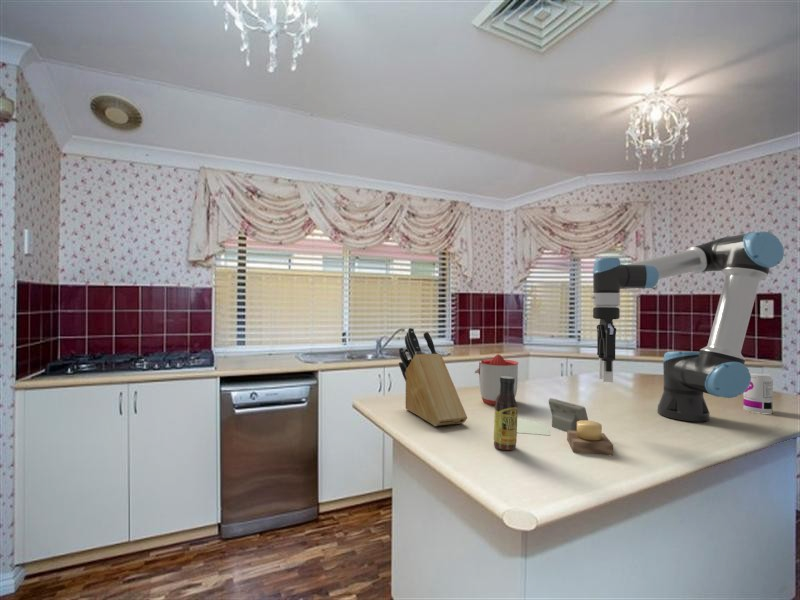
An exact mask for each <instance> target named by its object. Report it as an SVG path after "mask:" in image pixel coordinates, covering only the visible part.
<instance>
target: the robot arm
mask: <svg viewBox="0 0 800 600" xmlns="http://www.w3.org/2000/svg"><path fill="white" fill-rule="evenodd" d="M784 254H785V249H784V246H783V242H781V241H780V238H778V237H777V236H776V235H775V234H773V233H771V232H769V231H764V230H763V231H751V232H748V233H743V234H736V235H731V236H725V237H720V238H717V239H714V240H712V241H707V242H705V243H701V244H699V245H695V246H690V247H689V248H686V251H682V252H677V253H672V254H668V255H664V256H663V255H662V256H659V257H655V258H651V259H647V260H641V261H636V262H632V263H627V264H621V260H620V258H618V257H613V256H612V257H599V258H596V259H595V260H594V261H593V266H592V267H593V268H592V269H593V270H592V276H593V277H592V280H593V281H592V282H593V283H592V284H593V285H592V286H593V291H592V292H593V294H592V296H591V297H590V298H591V299H592V304H593V306H594V307H593V308H592V312H593V313H592V318H593V319H595V320H599V324H598V325H596V332H597V334H596V336H597V340H596V341H597V346H596V347H597V348H596V349H597V350H596V351H597V352H596V353H597V356H598V379H600V380H602V383H604V382H606V383H614V361H615V360H616V333H617V328H616V327H615V325H614V322H613V320H619V319H620V316H621V315H620V312H621V311H620V307H619V306H620V305H621V290H627V289H628V290H629V289H630V290H631V289H643V290H645V289H652V288H654V287H655V286H657V284H658V283H659V280H661V279H666V278H669V277H675V276H679V275H683V274H688V273H693V274H700V273H707V272H721V273H722V274H723V275H724V276H725V278H724V281H723V285H722V289H721V292H720V297H719V299H718V300H719V301H718V303H717V304H718V305H717V308H716V311H715V316H714V320H713V324H712V327H711V330H710V335H709V339H708V343H707V345H706V346H704V347H703V348H700V349H699V351H666V352H665V353H664V355H663V361H662V364H663V365H662V367H663V368H662V369H663V392H662V395H661V398H660V400H659V402H658V405H657V413H658V415H661V416H663V417H666V418H670V419H674V420H679V421H687V422H698V423H699V422H708V421H710V416H711V415H710V410H709V409H708V406H707V405H708V404H707V403H706V400H705V397H704V393H705V394H707V395H708V394H709V395H711V396H714V397H717V398H725V399H733V398H737V397H738V396H739V395H742V394H743V393H744V392H745V391H746V390H747V388H748V386H749V384H750V381H751V374H750V373H751V372H750V369H749V368H748V367H747V366H745V362H746V358H745V357H744V355H742V349H743V345H744V341H745V339H746V338H745V337H746V334H747V331H748V327H749V323H750V319H751V315H752V311H753V309H754V303H755V300H756V296H757V294H758V289H759V285H760V282H761V281H762V280H764V279H766V278H767V277H769V276H768V275H769V272H770V269H771V268H775V267H776V266H778V265H779V264H781V262H782V261H783V259H784Z"/></svg>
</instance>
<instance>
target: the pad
mask: <svg viewBox="0 0 800 600" xmlns="http://www.w3.org/2000/svg"><path fill="white" fill-rule="evenodd" d="M517 434H524V435H538V436H548V437H549V436H550V437H551V434H550V431H549V429H548V426H547V423H544V422H540V421H534V420H529V419H524V418H520V417H517Z"/></svg>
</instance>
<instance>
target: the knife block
mask: <svg viewBox="0 0 800 600" xmlns="http://www.w3.org/2000/svg"><path fill="white" fill-rule="evenodd" d="M422 336H423V338H424V340H425V342H426V344H427V347H428V348H429V350H430V353H425V352H422V349H421V346H420V343H419V340H418V337H417V335H416V333H415V328H413V327H409V328H408V329H407V332H406V334H405V336H404V344H405V347H406V349H404V348H403V347H399V349H398V355H399V358H400V360H401V361H400V362H398V365H399V368H400V372H401V373H402V375H403V376H402V377H403V379H404V381H405V409H406V410H407V411H409V412H411V413H412V414H414V415H417V416H418V417H420V418H421V419H423V420H424V421H426V422H428V423H430V424H431V425H432V426H433V427H439V426H446V425H447V426H449V425H458V424H459V425H460V424H463V423H465V422H466V420H467V419H468V416H467V413H466V410H465V409H464V406H463V403H462V402H461V399H460V396H459V394H458V391H457V389H456V387H455V385H454V382H453V379H452V377H451V375H450V373H449V370H448V368H447V366H446V363H445V361H444V359H443V356H442V354H441V353H438V352H437V351H436V348H435V344H434V342H433V338H432V336H431V335H430V333H429V332H427V331H426V332H424V333H423V335H422ZM406 353H408V354H409V357H410V358H408V356H407V355H406Z"/></svg>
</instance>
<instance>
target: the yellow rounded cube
mask: <svg viewBox="0 0 800 600" xmlns="http://www.w3.org/2000/svg"><path fill="white" fill-rule="evenodd" d="M602 427H603V425H602V424H601V423H599V422H598V421H593V420H588V421H587V420H581V421H577V436H578V437H580V438H583V440H600V439H602V433H603V431H602V429H603V428H602Z"/></svg>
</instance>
